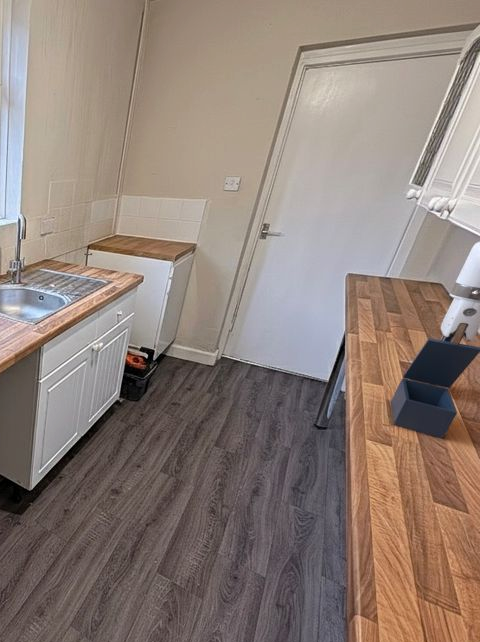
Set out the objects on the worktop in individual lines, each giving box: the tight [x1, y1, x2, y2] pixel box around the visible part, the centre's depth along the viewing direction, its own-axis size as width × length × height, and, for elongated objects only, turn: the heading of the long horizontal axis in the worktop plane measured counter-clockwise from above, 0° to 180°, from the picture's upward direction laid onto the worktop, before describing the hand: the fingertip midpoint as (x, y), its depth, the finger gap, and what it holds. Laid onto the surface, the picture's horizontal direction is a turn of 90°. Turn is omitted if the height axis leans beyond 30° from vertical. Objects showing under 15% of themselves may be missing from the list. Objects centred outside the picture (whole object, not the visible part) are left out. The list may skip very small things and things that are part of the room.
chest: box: [390, 377, 458, 439], centre depth 109 cm, size 15×9×8 cm, turn 138°
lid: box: [402, 337, 480, 389], centre depth 107 cm, size 16×9×1 cm
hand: (440, 359), depth 108 cm, fingers closed
